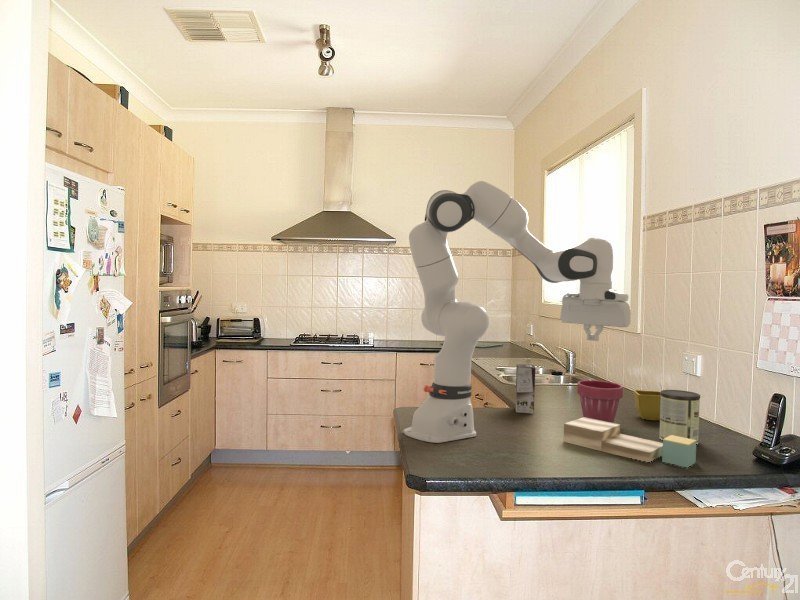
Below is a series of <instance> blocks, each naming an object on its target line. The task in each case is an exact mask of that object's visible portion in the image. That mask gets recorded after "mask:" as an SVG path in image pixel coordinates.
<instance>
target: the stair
mask: <svg viewBox="0 0 800 600" xmlns="http://www.w3.org/2000/svg"><path fill="white" fill-rule="evenodd" d="M563 442H564V443H568V444H571V445H575V446H578V447H584V448H587V449H591V450H596V451H600V452H604V453H608V454H611V455H616V456H619V457H623V458H628V459H631V458H632V459H631V460H635V459H637V461H639V460H641V461H640V462H643V461H646V462H645V463H647V462H650V463H652V462H654V461H655V460H657V459H659V458H661V457H662V452H663V442H659V441H656V440H652V439H645V438H641V437H637V436H633V435H628V434H624V433H621V424H619V423H614V422H613V423H610V422H605V421H600V420H596V419H591V418H586V417H580V418H576V419H574V420H570V421H567V422H565V423H563ZM660 456H661V457H660ZM658 457H659V458H658ZM656 458H657V459H656ZM654 459H655V460H654ZM653 460H654V461H653ZM651 461H652V462H651Z"/></svg>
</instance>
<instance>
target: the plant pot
mask: <svg viewBox="0 0 800 600" xmlns="http://www.w3.org/2000/svg"><path fill="white" fill-rule="evenodd" d="M576 387H577V389H576V393H577V394H578V395H579V399H580V405H581V411H582V416H583V417H586V418H591V419H596V420H600V421H605V422H610V423H614V422H615V418H616V415H617V411H618V408H619V403H620V399H623V396H624V393H623V392H624V386H623V385H622V384H619V383H617V382H611V381H605V380H598V379H597V380H593V379H587V380H585V379H583V380H579V381H578V382H577V386H576Z"/></svg>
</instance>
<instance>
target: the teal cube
mask: <svg viewBox="0 0 800 600" xmlns="http://www.w3.org/2000/svg"><path fill="white" fill-rule="evenodd" d="M662 443H663V452H662V456H661V460H662V461H661V462H662V463H663V462H667V463H671V464H670V465H672V464H676V465H680V466H684V467H689V466H691V465H692V464H694V463H695V462H697V461H696V458H697V445H696V440H693V439H688V438H684V437H679V436H674V435H670V436H668V437H666V438H664V439H663V441H662ZM667 463H666V464H667ZM695 464H696V463H695ZM695 464H694V465H695ZM676 465H675V466H676ZM680 466H679V467H680ZM692 466H693V465H692ZM692 466H691V467H692ZM684 467H683V468H684ZM689 468H690V467H689Z"/></svg>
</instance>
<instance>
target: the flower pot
mask: <svg viewBox="0 0 800 600" xmlns="http://www.w3.org/2000/svg"><path fill="white" fill-rule="evenodd" d="M660 391H661V390H659V391H658V390H641V389H640V390H639V389H633V397H634V406H635V409H636V412H637V414H638V416H639V417H640V418H641V420H644V419H646V420H649V421H656V420H657V421H660V405H661V394H660ZM646 420H645V421H646Z"/></svg>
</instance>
